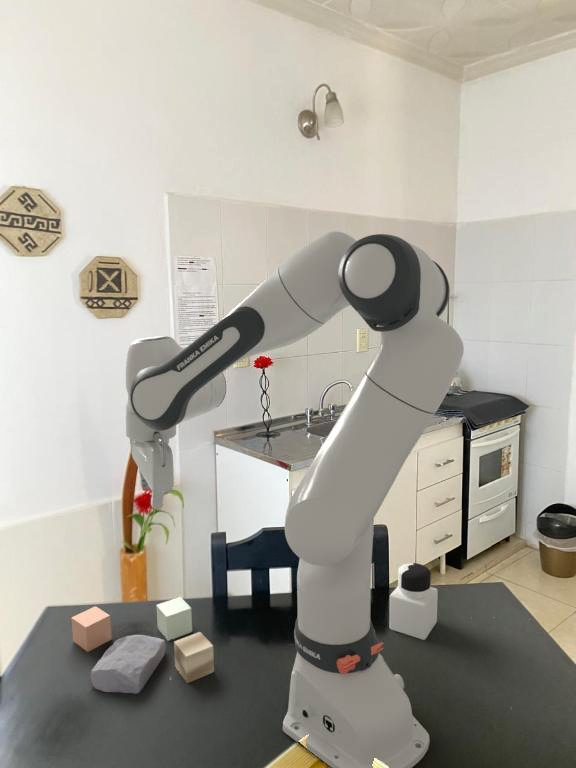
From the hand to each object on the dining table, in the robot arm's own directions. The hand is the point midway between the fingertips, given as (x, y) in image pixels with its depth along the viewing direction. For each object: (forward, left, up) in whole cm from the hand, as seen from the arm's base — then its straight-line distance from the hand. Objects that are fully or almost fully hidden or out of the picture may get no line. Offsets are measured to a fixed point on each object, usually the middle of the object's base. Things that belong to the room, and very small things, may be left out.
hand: (151, 497), depth 107 cm
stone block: (-7, +9, -28) cm, 30 cm away
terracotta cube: (+5, +11, -27) cm, 30 cm away
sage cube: (-1, -3, -27) cm, 27 cm away
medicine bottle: (-27, -41, -27) cm, 56 cm away
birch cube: (-14, -1, -27) cm, 31 cm away
